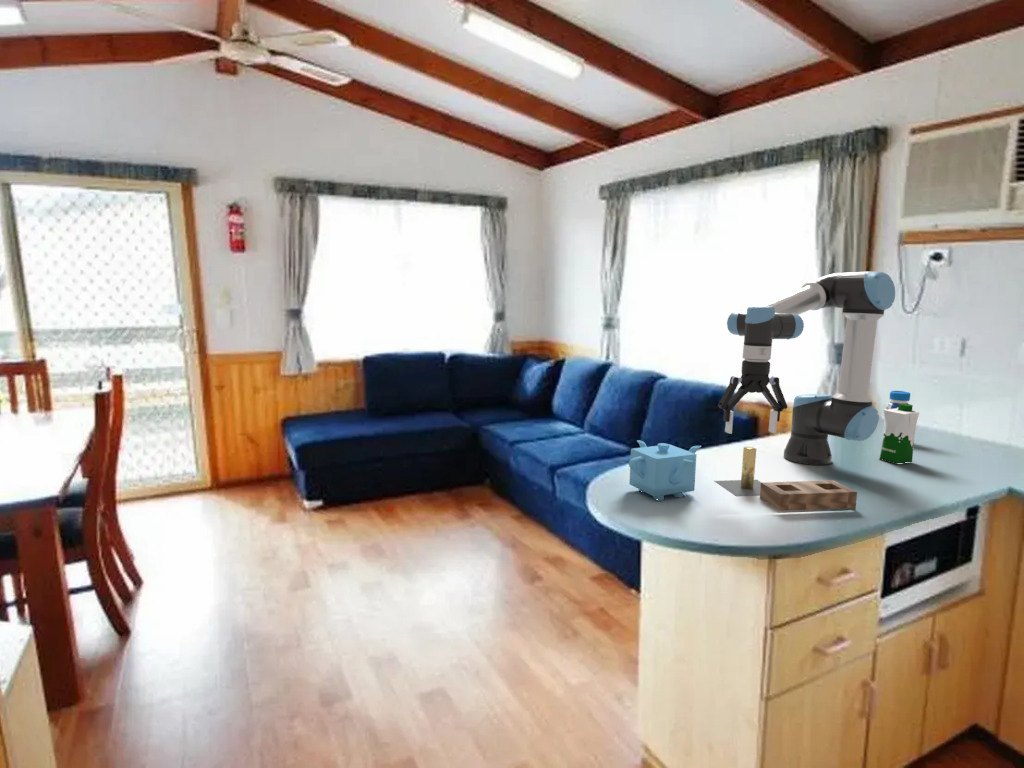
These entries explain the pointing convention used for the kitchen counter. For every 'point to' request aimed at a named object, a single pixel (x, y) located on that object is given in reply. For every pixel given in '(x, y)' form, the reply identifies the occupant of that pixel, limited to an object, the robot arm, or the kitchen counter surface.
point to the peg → (748, 467)
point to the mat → (736, 489)
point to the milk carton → (899, 434)
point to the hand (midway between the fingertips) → (750, 432)
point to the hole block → (808, 495)
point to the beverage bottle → (898, 399)
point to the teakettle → (663, 469)
